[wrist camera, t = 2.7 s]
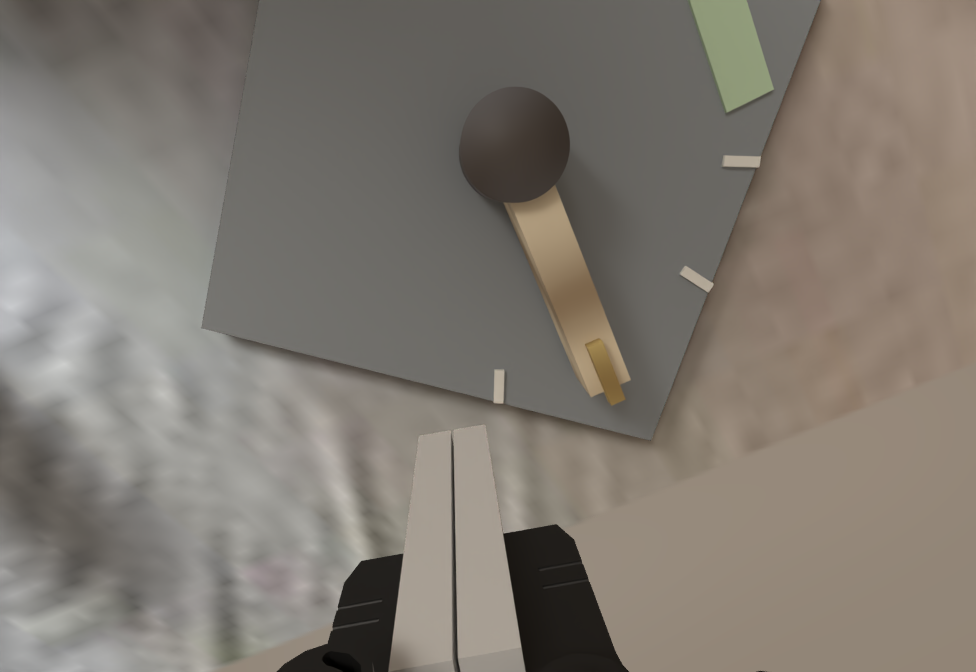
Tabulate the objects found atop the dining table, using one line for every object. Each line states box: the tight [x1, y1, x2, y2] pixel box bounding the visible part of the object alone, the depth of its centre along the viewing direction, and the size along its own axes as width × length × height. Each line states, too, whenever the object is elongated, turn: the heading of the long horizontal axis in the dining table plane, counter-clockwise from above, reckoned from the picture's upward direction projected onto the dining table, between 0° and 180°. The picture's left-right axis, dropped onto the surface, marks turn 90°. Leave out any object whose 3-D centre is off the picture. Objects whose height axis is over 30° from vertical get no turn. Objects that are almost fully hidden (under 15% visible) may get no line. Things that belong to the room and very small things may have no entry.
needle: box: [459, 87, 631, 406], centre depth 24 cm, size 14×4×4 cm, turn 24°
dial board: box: [201, 0, 821, 441], centre depth 26 cm, size 24×24×2 cm
